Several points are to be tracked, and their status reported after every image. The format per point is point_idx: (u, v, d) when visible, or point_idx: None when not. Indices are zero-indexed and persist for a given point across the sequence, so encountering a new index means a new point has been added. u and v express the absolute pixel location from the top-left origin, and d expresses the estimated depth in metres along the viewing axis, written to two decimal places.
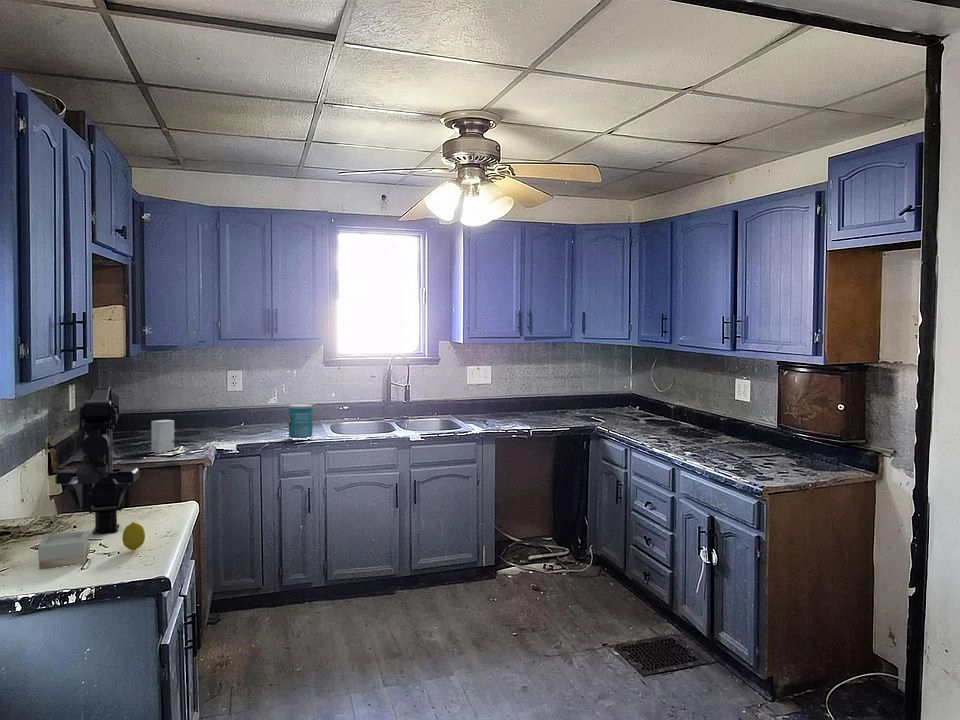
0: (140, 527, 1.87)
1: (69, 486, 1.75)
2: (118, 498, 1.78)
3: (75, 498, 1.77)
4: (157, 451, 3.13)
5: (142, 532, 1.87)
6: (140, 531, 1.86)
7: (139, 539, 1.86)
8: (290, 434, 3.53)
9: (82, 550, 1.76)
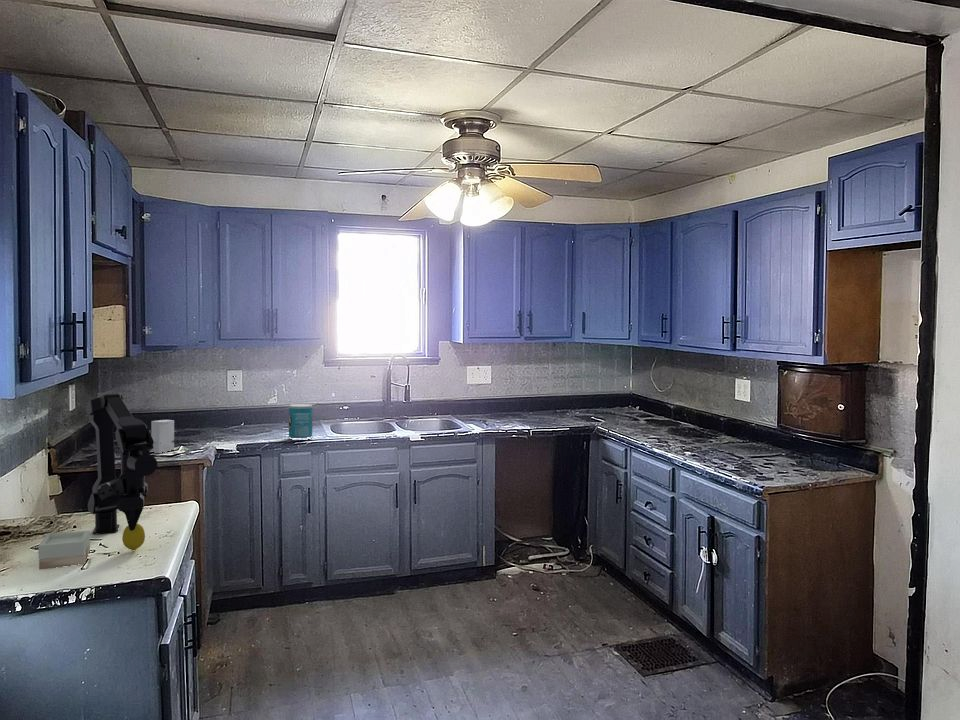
0: (140, 527, 1.87)
1: None
2: (127, 521, 1.82)
3: None
4: (157, 451, 3.13)
5: (142, 532, 1.87)
6: (140, 531, 1.86)
7: (139, 539, 1.86)
8: (290, 434, 3.53)
9: (82, 550, 1.76)
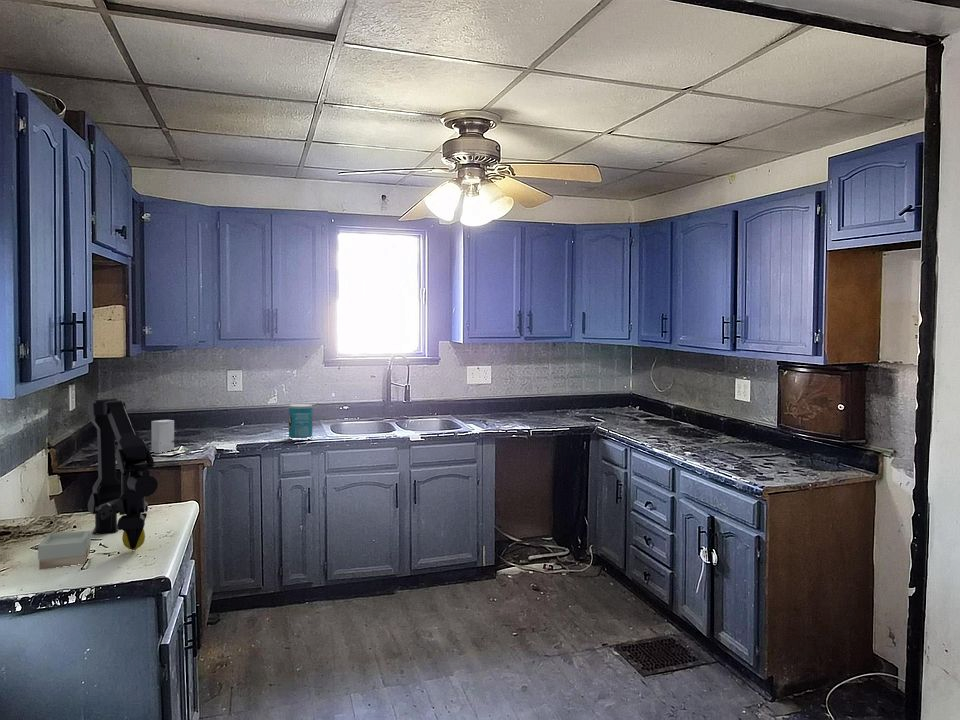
0: None
1: None
2: (128, 539, 1.84)
3: None
4: (157, 451, 3.13)
5: (142, 532, 1.87)
6: None
7: (139, 539, 1.86)
8: (290, 434, 3.53)
9: (81, 550, 1.76)
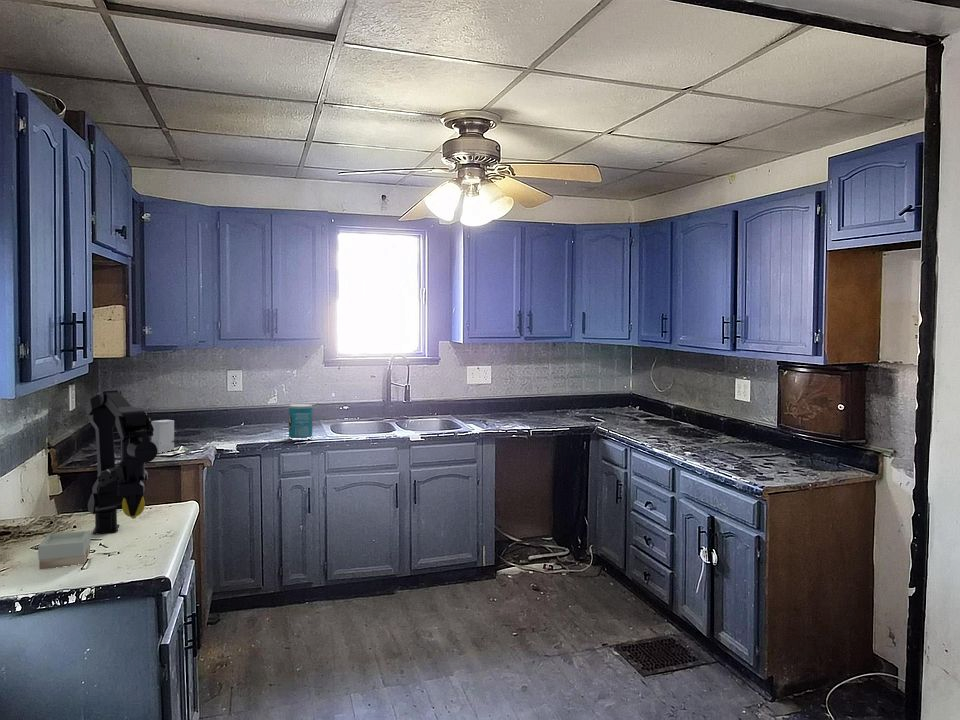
0: None
1: None
2: (128, 506, 1.83)
3: None
4: None
5: (142, 500, 1.86)
6: None
7: (139, 507, 1.85)
8: (290, 434, 3.53)
9: (82, 550, 1.76)
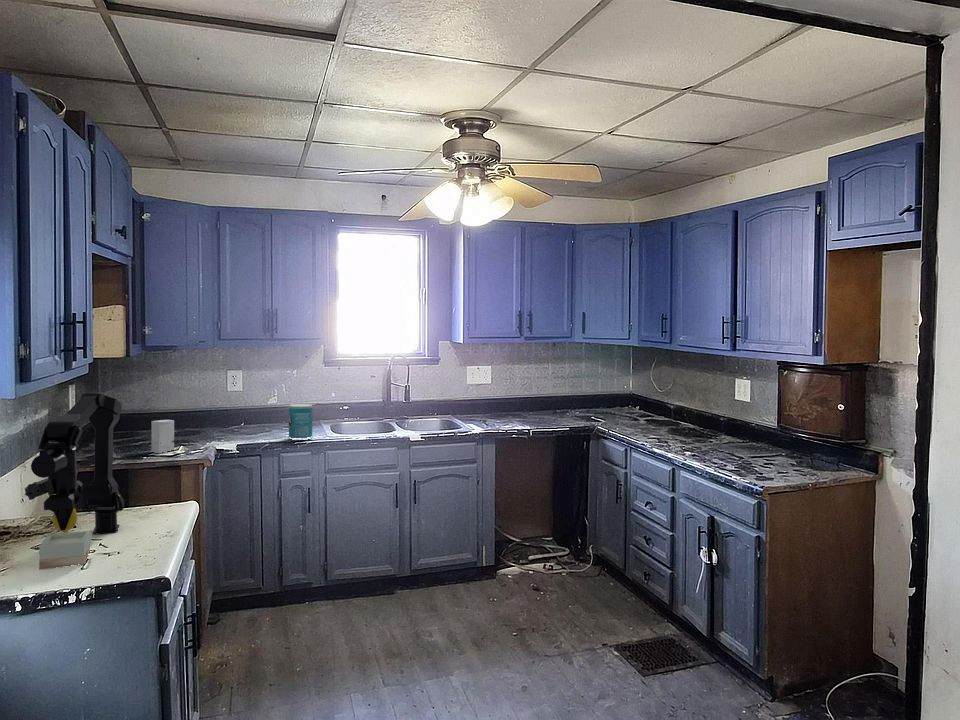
0: None
1: None
2: None
3: None
4: (157, 451, 3.13)
5: (74, 513, 1.78)
6: (72, 512, 1.78)
7: (70, 520, 1.77)
8: (290, 434, 3.53)
9: (82, 550, 1.76)
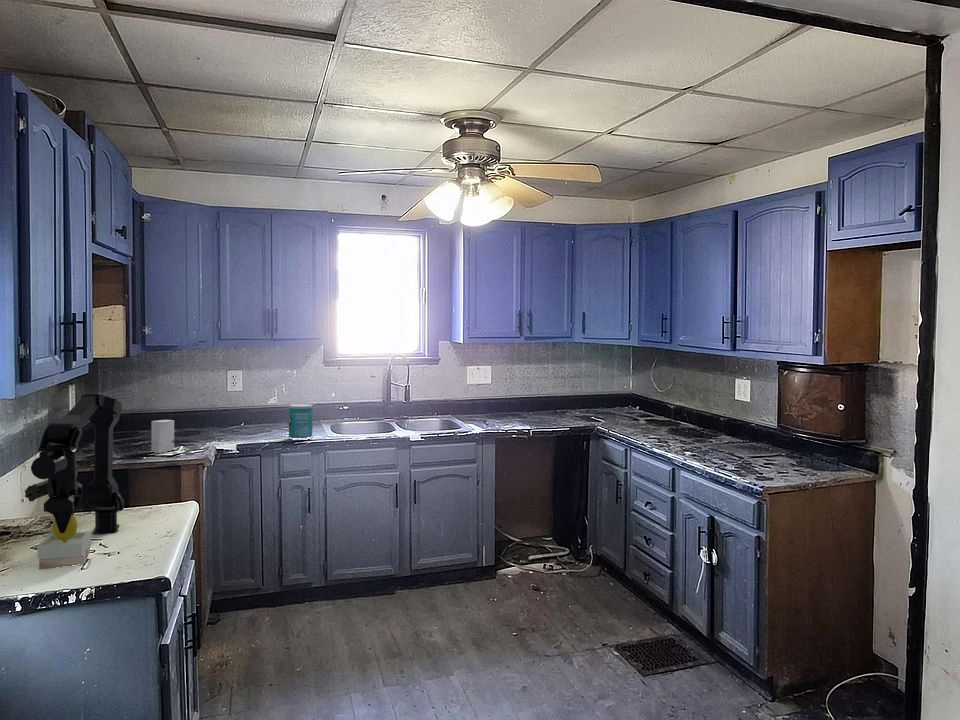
0: (72, 517, 1.79)
1: None
2: None
3: None
4: (157, 451, 3.13)
5: (74, 522, 1.79)
6: (72, 521, 1.78)
7: (70, 529, 1.78)
8: (290, 434, 3.53)
9: (80, 551, 1.76)
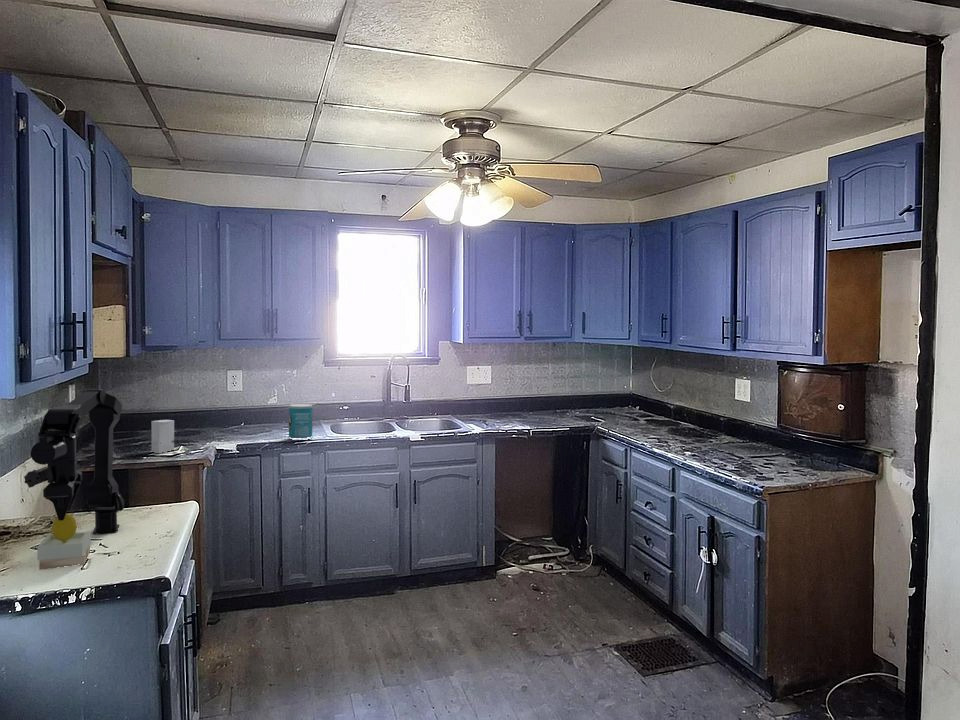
0: (71, 517, 1.78)
1: None
2: None
3: None
4: (157, 451, 3.13)
5: (73, 523, 1.78)
6: (71, 522, 1.78)
7: (69, 530, 1.77)
8: (290, 434, 3.53)
9: (81, 551, 1.76)
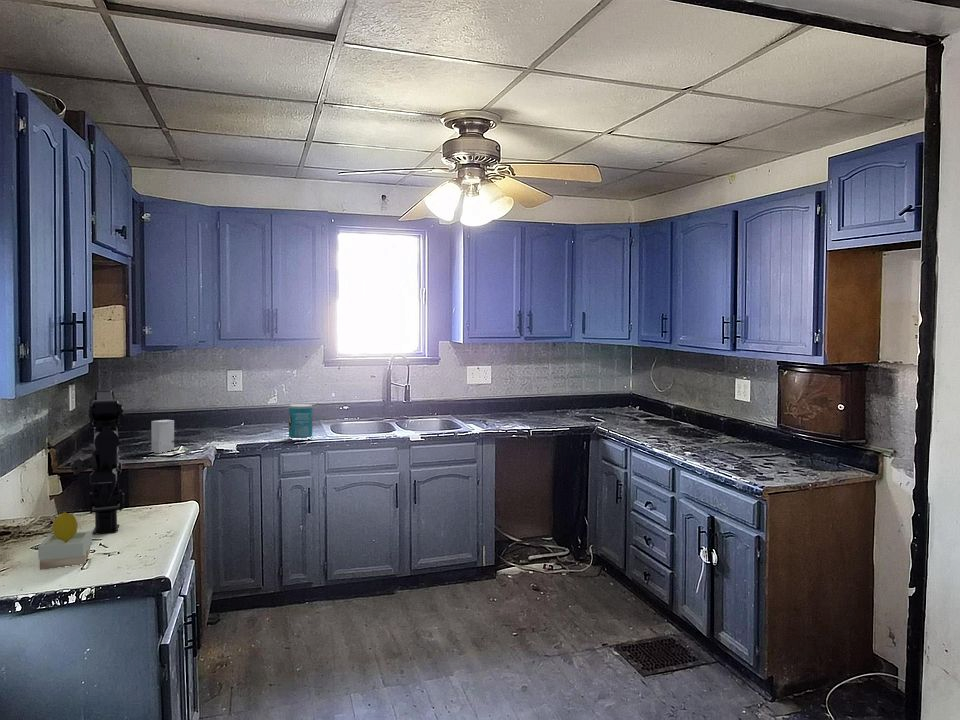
0: (71, 517, 1.78)
1: None
2: None
3: None
4: (157, 451, 3.13)
5: (74, 522, 1.78)
6: (71, 521, 1.78)
7: (70, 529, 1.77)
8: (290, 434, 3.53)
9: (81, 551, 1.76)
